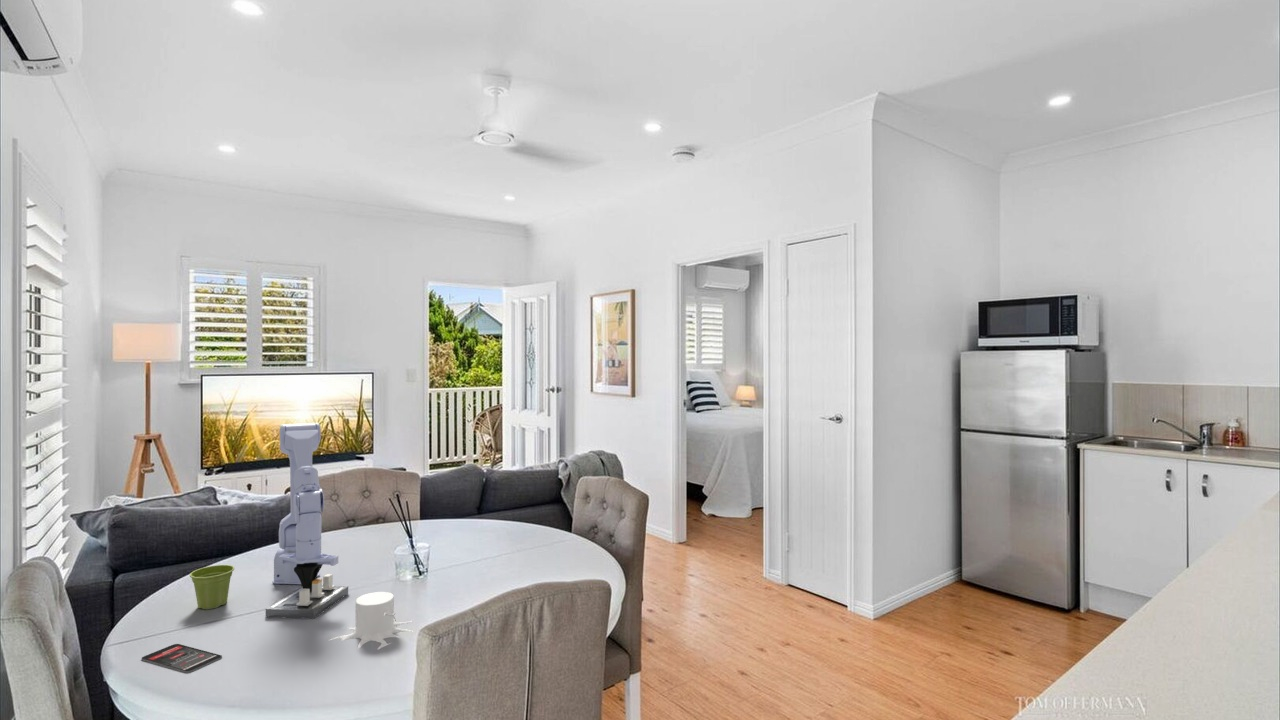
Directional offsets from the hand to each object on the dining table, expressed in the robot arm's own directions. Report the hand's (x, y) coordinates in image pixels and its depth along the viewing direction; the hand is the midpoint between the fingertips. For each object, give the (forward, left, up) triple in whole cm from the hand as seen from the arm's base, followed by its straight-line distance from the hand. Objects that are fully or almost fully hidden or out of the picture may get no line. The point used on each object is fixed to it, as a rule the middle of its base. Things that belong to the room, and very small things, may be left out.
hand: (308, 592), depth 161 cm
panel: (0, 0, -3) cm, 3 cm away
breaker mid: (+2, 0, -1) cm, 2 cm away
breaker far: (+2, +5, -1) cm, 6 cm away
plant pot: (-24, -2, -3) cm, 24 cm away
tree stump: (+24, -13, -4) cm, 28 cm away
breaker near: (+2, -5, -1) cm, 6 cm away
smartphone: (-10, -29, -4) cm, 31 cm away
